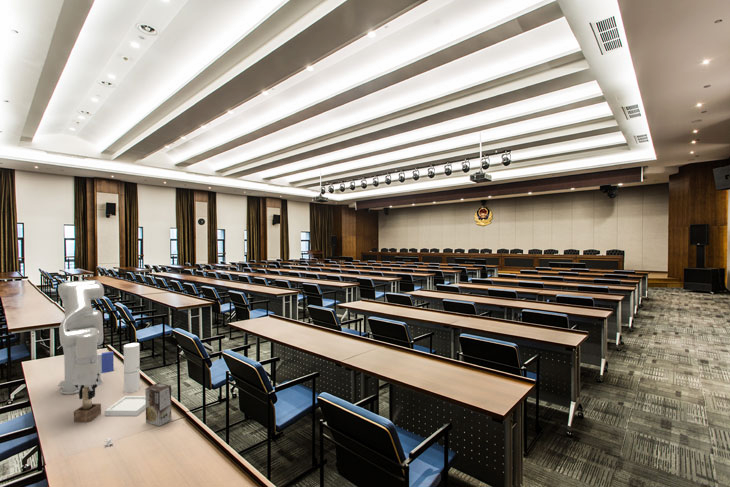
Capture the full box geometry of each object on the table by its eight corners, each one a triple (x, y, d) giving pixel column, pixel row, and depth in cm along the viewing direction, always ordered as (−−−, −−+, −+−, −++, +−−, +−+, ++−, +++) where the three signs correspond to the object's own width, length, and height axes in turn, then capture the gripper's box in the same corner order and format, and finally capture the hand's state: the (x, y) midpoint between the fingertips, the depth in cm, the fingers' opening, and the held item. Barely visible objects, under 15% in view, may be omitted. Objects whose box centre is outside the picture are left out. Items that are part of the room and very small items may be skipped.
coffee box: (172, 419, 158) (172, 385, 157) (159, 426, 152) (159, 391, 151) (157, 415, 161) (157, 382, 160) (145, 422, 155) (144, 388, 154)
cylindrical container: (142, 387, 188) (142, 343, 188) (132, 393, 181) (132, 347, 180) (131, 386, 189) (130, 342, 188) (120, 392, 182) (120, 346, 181)
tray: (104, 415, 159) (104, 410, 159) (125, 400, 173) (125, 396, 173) (137, 415, 160) (137, 410, 160) (154, 400, 174) (154, 396, 174)
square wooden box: (73, 422, 154) (73, 411, 153) (86, 413, 161) (85, 403, 160) (89, 422, 154) (89, 411, 154) (100, 413, 161) (100, 403, 161)
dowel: (80, 412, 156) (80, 389, 155) (86, 408, 159) (86, 385, 159) (88, 412, 156) (87, 389, 155) (93, 408, 159) (93, 385, 159)
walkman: (113, 369, 211) (113, 350, 210) (113, 370, 209) (113, 351, 208) (97, 372, 206) (97, 353, 206) (97, 374, 204) (97, 354, 204)
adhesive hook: (112, 443, 140) (112, 436, 140) (114, 445, 138) (114, 438, 138) (103, 447, 138) (103, 439, 137) (105, 449, 136) (105, 442, 136)
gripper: (61, 362, 152) (62, 401, 153) (98, 363, 153) (99, 402, 154) (75, 355, 160) (75, 393, 161) (110, 356, 160) (111, 394, 161)
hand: (87, 397), depth 157 cm, fingers closed on dowel, 3 cm apart
